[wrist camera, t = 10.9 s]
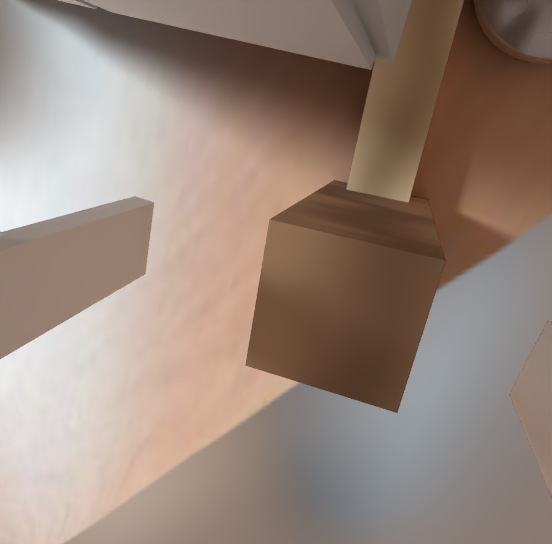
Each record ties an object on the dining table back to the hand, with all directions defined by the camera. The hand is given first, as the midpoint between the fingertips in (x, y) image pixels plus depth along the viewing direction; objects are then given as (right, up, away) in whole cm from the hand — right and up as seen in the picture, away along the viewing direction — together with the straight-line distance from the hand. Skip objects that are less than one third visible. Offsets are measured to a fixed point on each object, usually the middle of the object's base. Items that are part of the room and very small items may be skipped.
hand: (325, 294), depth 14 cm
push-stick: (+5, +10, +7) cm, 13 cm away
